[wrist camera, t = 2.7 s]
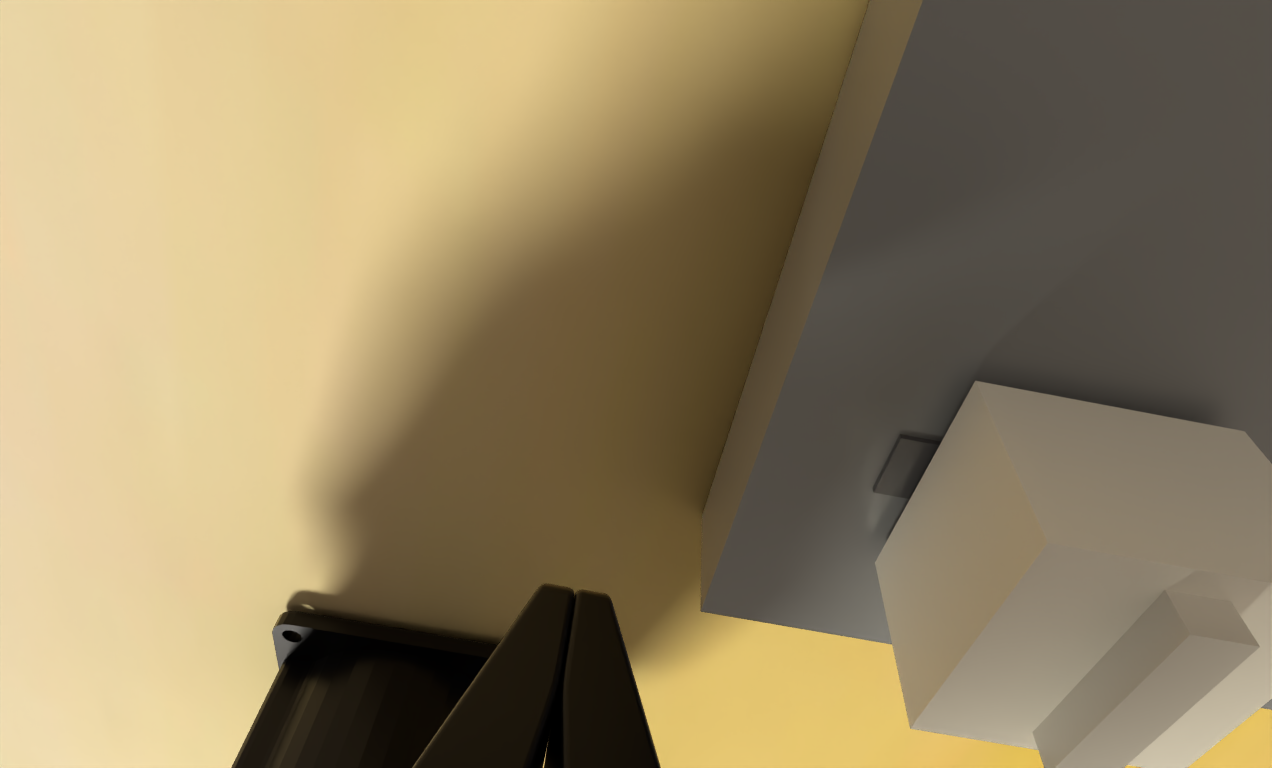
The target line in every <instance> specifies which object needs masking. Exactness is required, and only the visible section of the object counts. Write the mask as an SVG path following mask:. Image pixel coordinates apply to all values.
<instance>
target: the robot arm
mask: <svg viewBox="0 0 1272 768" xmlns="http://www.w3.org/2000/svg"><path fill="white" fill-rule="evenodd" d="M272 634H273V639H274V645H275V650H276V655H277V661H278V666H279V672H278V674H277V676H276V678H275V680H274V682H273V684H272V686H271V688H270V690H269V692H268V694H267V696H266V698H265V700H264V702H263V704H262V706H261V708H260V710H259V712H258V714H257V717H256V719H255V721H254V723H253V725H252V727H251V729H250V731H249V733H248V735H247V737H246V739H245V741H244V743H243V745H242V747H241V749H240V751H239V753H238V755H237V757H236V759H235V761H234V763H233V765H232V768H543V763H544V758H545V753H546V758H545V765H544V768H661V767H660V763H659V760H658V757H657V753H656V750H655V746H654V743H653V740H652V736H651V733H650V729H649V726H648V723H647V719H646V716H645V712H644V709H643V706H642V702H641V699H640V695H639V692H638V688H637V685H636V682H635V678H634V675H633V671H632V668H631V665H630V661H629V658H628V654H627V651H626V648H625V644H624V641H623V637H622V634H621V631H620V627H619V624H618V620H617V617H616V614H615V610H614V607H613V603H612V601H611V599H610V597H609V596H608V595H607V594H605V593H599V592H593V591H587V590H579V591H577V592H576V593H575V597H574V591H573V589H571V588H569V587H564V586H558V585H552V584H543V585H541V586H540V587H539V588H538V589H537V590H536V592H535V593H534V595H533V596H532V597H531V599H530V600H529V602H528V603H527V605H526V606H525V607H524V609H523V610H522V612H521V613H520V615H519V616H518V617H517V619H516V620H515V622H514V623H513V625H512V626H511V627H510V629H509V630H508V632H507V633H506V635H505V636H504V637H503V639H502V640H501V642H500V643H499V645H493V644H487V643H481V642H475V641H469V640H463V639H457V638H451V637H445V636H439V635H433V634H428V633H422V632H416V631H410V630H404V629H398V628H392V627H386V626H380V625H374V624H368V623H362V622H356V621H350V620H344V619H338V618H332V617H326V616H320V615H315V614H309V613H303V612H296V611H288V612H284V613H283V614H281V615H280V617H279V619H278V620H277V622H276V624H275V626H274V628H273V632H272ZM547 744H548V745H547ZM546 748H547V751H546Z"/></svg>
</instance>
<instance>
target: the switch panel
mask: <svg viewBox="0 0 1272 768" xmlns="http://www.w3.org/2000/svg"><path fill="white" fill-rule="evenodd" d="M975 381H980V382H985V383H990V384H996V385H1001V386H1006V387H1011V388H1017V389H1022V390H1027V391H1033V392H1038V393H1043V394H1049V395H1054V396H1059V397H1065V398H1070V399H1075V400H1081V401H1086V402H1091V403H1097V404H1102V405H1107V406H1113V407H1118V408H1123V409H1129V410H1134V411H1139V412H1145V413H1150V414H1155V415H1161V416H1166V417H1171V418H1177V419H1182V420H1187V421H1193V422H1198V423H1203V424H1209V425H1214V426H1219V427H1225V428H1230V429H1235V430H1240V431H1245V432H1246V434H1247V435H1248V436H1249V437H1250V438H1251V440H1252V441H1253V442H1254V443H1255V444H1256V446H1257V447H1258V448H1259V449H1260V450H1261V452H1262V453H1263V454H1264V455H1265V456H1266V458H1267V459H1268V460H1269V461H1270V462H1271V464H1272V0H870V1H869V4H868V7H867V10H866V13H865V16H864V19H863V22H862V26H861V29H860V32H859V35H858V38H857V41H856V44H855V47H854V50H853V53H852V56H851V59H850V62H849V65H848V69H847V72H846V75H845V78H844V81H843V84H842V87H841V90H840V93H839V96H838V99H837V102H836V105H835V109H834V112H833V115H832V118H831V121H830V124H829V127H828V130H827V133H826V136H825V139H824V142H823V145H822V148H821V152H820V155H819V158H818V161H817V164H816V167H815V170H814V173H813V176H812V179H811V182H810V185H809V188H808V191H807V195H806V198H805V201H804V204H803V207H802V210H801V213H800V216H799V219H798V222H797V225H796V228H795V231H794V234H793V238H792V241H791V244H790V247H789V250H788V253H787V256H786V259H785V262H784V265H783V268H782V271H781V274H780V277H779V281H778V284H777V287H776V290H775V293H774V296H773V299H772V302H771V305H770V308H769V311H768V314H767V317H766V320H765V324H764V327H763V330H762V333H761V336H760V339H759V342H758V345H757V348H756V351H755V354H754V357H753V360H752V363H751V367H750V370H749V373H748V376H747V379H746V382H745V385H744V388H743V391H742V394H741V397H740V400H739V403H738V406H737V410H736V413H735V416H734V419H733V422H732V425H731V428H730V431H729V434H728V437H727V440H726V443H725V446H724V449H723V453H722V456H721V459H720V462H719V465H718V468H717V471H716V474H715V477H714V480H713V483H712V486H711V489H710V492H709V496H708V499H707V502H706V505H705V508H704V511H703V514H702V541H701V612H707V613H712V614H718V615H724V616H730V617H736V618H741V619H747V620H753V621H759V622H765V623H771V624H776V625H782V626H788V627H794V628H800V629H805V630H811V631H817V632H823V633H829V634H835V635H840V636H846V637H852V638H858V639H864V640H869V641H875V642H881V643H887V644H892V641H891V636H890V631H889V626H888V622H887V617H886V612H885V608H884V603H883V598H882V593H881V589H880V584H879V579H878V575H877V570H876V565H875V562H876V560H877V558H878V556H879V554H880V553H881V551H882V549H883V547H884V545H885V543H886V542H887V540H888V538H889V536H890V534H891V533H892V531H893V529H894V527H895V525H896V524H897V522H898V520H899V518H900V516H901V514H902V513H903V511H904V509H905V507H906V505H907V504H908V502H909V500H910V498H911V496H912V495H913V493H914V491H915V489H916V487H917V485H918V484H919V482H920V480H921V478H922V476H923V475H924V473H925V471H926V469H927V467H928V465H929V464H930V462H931V460H932V458H933V456H934V455H935V453H936V451H937V449H938V447H939V446H940V444H941V442H942V440H943V438H944V436H945V435H946V433H947V431H948V429H949V427H950V426H951V424H952V422H953V420H954V418H955V417H956V415H957V413H958V411H959V409H960V407H961V406H962V404H963V402H964V400H965V398H966V397H967V395H968V393H969V391H970V389H971V387H972V386H973V384H974V382H975ZM1261 708H1265V709H1271V710H1272V699H1271V700H1270V701H1268V702H1267V703H1266V704H1265V705H1263V706H1262V707H1261Z"/></svg>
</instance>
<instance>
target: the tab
mask: <svg viewBox="0 0 1272 768" xmlns="http://www.w3.org/2000/svg"><path fill="white" fill-rule="evenodd" d="M875 565H876V570H877V575H878V579H879V584H880V589H881V593H882V598H883V603H884V608H885V612H886V617H887V622H888V626H889V631H890V636H891V641H892V645H893V650H894V655H895V659H896V664H897V669H898V674H899V678H900V683H901V688H902V692H903V697H904V702H905V707H906V711H907V716H908V721H909V725H910V729H916V730H922V731H928V732H934V733H940V734H946V735H952V736H958V737H964V738H970V739H976V740H981V741H987V742H993V743H999V744H1005V745H1011V746H1017V747H1023V748H1029V749H1035V750H1039V753H1040V756H1041V759H1042V762H1043V765H1044V768H1124V767H1125V766H1126V765H1131V766H1137V767H1143V768H1187V767H1189V766H1190V765H1191V764H1192V763H1194V762H1195V761H1196V760H1197V759H1198V758H1200V757H1201V756H1202V755H1203V754H1205V753H1206V752H1207V751H1208V750H1209V749H1211V748H1212V747H1213V746H1214V745H1216V744H1217V743H1218V742H1219V741H1221V740H1222V739H1223V738H1224V737H1225V736H1227V735H1228V734H1229V733H1230V732H1232V731H1233V730H1234V729H1235V728H1236V727H1238V726H1239V725H1240V724H1241V723H1243V722H1244V721H1245V720H1246V719H1248V718H1249V717H1250V716H1251V715H1252V714H1254V713H1255V712H1256V711H1257V710H1259V709H1260V708H1261V707H1262V706H1263V705H1265V704H1266V703H1267V702H1268V701H1270V700H1271V699H1272V464H1271V462H1270V461H1269V460H1268V459H1267V458H1266V456H1265V455H1264V454H1263V453H1262V452H1261V450H1260V449H1259V448H1258V447H1257V446H1256V444H1255V443H1254V442H1253V441H1252V440H1251V438H1250V437H1249V436H1248V435H1247V434H1246V432H1245V431H1240V430H1235V429H1230V428H1225V427H1219V426H1214V425H1209V424H1203V423H1198V422H1193V421H1187V420H1182V419H1177V418H1171V417H1166V416H1161V415H1155V414H1150V413H1145V412H1139V411H1134V410H1129V409H1123V408H1118V407H1113V406H1107V405H1102V404H1097V403H1091V402H1086V401H1081V400H1075V399H1070V398H1065V397H1059V396H1054V395H1049V394H1043V393H1038V392H1033V391H1027V390H1022V389H1017V388H1011V387H1006V386H1001V385H996V384H990V383H985V382H980V381H975V382H974V384H973V386H972V387H971V389H970V391H969V393H968V395H967V397H966V398H965V400H964V402H963V404H962V406H961V407H960V409H959V411H958V413H957V415H956V417H955V418H954V420H953V422H952V424H951V426H950V427H949V429H948V431H947V433H946V435H945V436H944V438H943V440H942V442H941V444H940V446H939V447H938V449H937V451H936V453H935V455H934V456H933V458H932V460H931V462H930V464H929V465H928V467H927V469H926V471H925V473H924V475H923V476H922V478H921V480H920V482H919V484H918V485H917V487H916V489H915V491H914V493H913V495H912V496H911V498H910V500H909V502H908V504H907V505H906V507H905V509H904V511H903V513H902V514H901V516H900V518H899V520H898V522H897V524H896V525H895V527H894V529H893V531H892V533H891V534H890V536H889V538H888V540H887V542H886V543H885V545H884V547H883V549H882V551H881V553H880V554H879V556H878V558H877V560H876V562H875Z"/></svg>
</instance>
